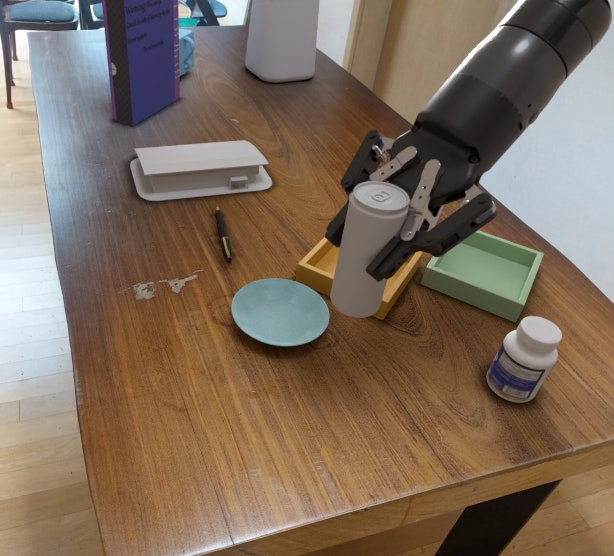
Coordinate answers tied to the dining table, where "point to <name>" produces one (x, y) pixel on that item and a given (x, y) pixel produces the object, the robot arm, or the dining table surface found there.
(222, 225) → the fountain pen
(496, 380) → the pill bottle
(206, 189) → the white plastic case
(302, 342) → the saucer
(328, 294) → the ochre tray
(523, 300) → the sage tray
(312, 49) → the plastic bottle
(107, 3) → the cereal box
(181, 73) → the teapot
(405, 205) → the beverage can
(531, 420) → the dining table surface
